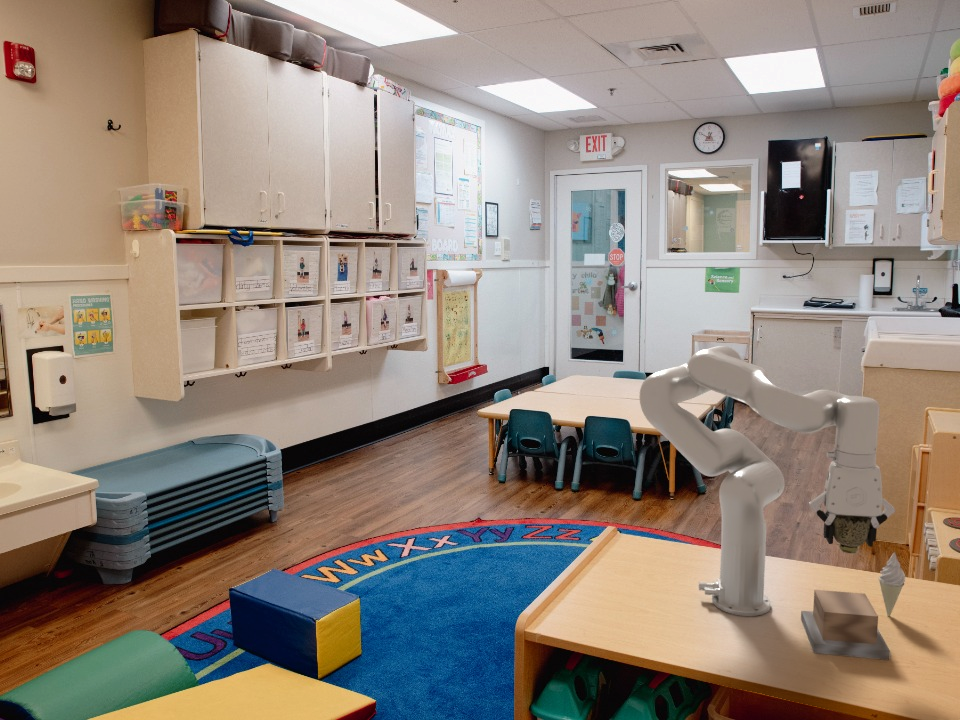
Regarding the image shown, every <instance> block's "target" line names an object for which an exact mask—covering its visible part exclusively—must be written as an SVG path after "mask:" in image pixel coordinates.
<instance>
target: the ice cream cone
mask: <svg viewBox="0 0 960 720" xmlns="http://www.w3.org/2000/svg"><path fill="white" fill-rule="evenodd" d="M879 573H880V574H881V575H880V576H879V577H878V579H877V580H878V582H879V586H880V590H881V593H882V598H883V603H884V607H885V611H886V615H887V617H891V614H892V612H893V610H894V608H895V606H896V603H897V601H898V599H899V597H900V593H901V591H902V589H903V587H904V586H905V582H906V575H905V573H904V570H903V569H902V568H901V563H900V562H899V559H898V557H897V554H896V552H895V551H893V553H892V554H891V556H890V558H889V559H888V560H887V562H886V566H884V567H882V570H880V572H879Z"/></svg>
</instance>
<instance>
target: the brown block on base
mask: <svg viewBox="0 0 960 720" xmlns="http://www.w3.org/2000/svg"><path fill="white" fill-rule="evenodd" d="M813 591H814V594H813V608H812V609H813V611H812V610H811V611H809V610H801V612H800V621H801V622H802V626H803V628H804V630H805V634H806V637H807V639H808V642H809V645H810V648H811V650H812V653H813V654H822V655H834V656H845V657H853V658H854V657H855V658H865V659H866V658H867V659H874V660H875V659H878V660H884V661H885V660H886V661H889V660H890V655H891V650H890V648H889V646H888V645H887V642H886V641H885V639H884V637H883V635H882V633H881V632H880V629H879V628H878V624H879V615H878V614H877V611H876V610H875V608H874V606H873V605H872V603H871V601H870V599H869V598H868V596H867V595H866V593H862V592H851V591H836V590H835V591H834V590H825V589H814V590H813Z"/></svg>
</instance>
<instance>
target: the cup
mask: <svg viewBox="0 0 960 720" xmlns="http://www.w3.org/2000/svg"><path fill="white" fill-rule="evenodd" d="M871 519H872V518H871ZM871 519H869V518H868V517H858V516H842V515H837V516H836V517H835V519H834V520H833V522H832V524H833V526H834V535H833V539H835V541H836V542H837V543H838V544H839V545H838V548H839V550H840V551H841V552H842V553H846V554H857V553H858V552H859V550H860V548H859V547H861V546H862V545H864V544H865V543H866V539H867V536H868V533H869V528H870V524H871Z"/></svg>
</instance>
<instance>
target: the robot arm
mask: <svg viewBox="0 0 960 720" xmlns="http://www.w3.org/2000/svg"><path fill="white" fill-rule="evenodd" d="M710 391H714V392H716V393H719V394H721V395H724V396H726V397H729V398H731V399H734V400H736V401H738V402H741V403H743V404H746V405H748V406H749V408H750V409H751V410H753V411H754V413H756V414H757V415H759V416H761V418H764V419H765V420H766V421H768V422H771V423H773V424H776V425H778V426H780V427H783V428H786V429H789V430H790V431H793V432H796V433H800V434H814V433H816V432H819V431H822V430H823V429H825V428H829V427H833V426H835V427H836V428H835V441H834V447H833V450H831V451H827V452H826V458H827V459H831V460H833V461H830V464H829V467H828V470H827V474H826V479H825V484H824V491H823V492H822V493H820V494H819V495H818V496H816V497H814V498H813V499H812V500H810V501H809V502H808V505H809V507H810V508H811V509H812V511H813V512H814V513H815V514H816V515H817V517H819V519H821V520H822V522H823V534H822V535H823V538H824V539H826V541H827V543H828V544H829V545H832V544H834V536H833V535H834V526H833V524H832V522H833V520H834V519H835V517H836V516H837V515H842V516H858V517H868V518H869V519H871V518H872V519H871V524H870V528H869V533H868V536H867V539H866V541H865V543H866V544H867V546H868V547H871V548H873V547H874V542H876V541H877V532H878V531H877V530H878V529H879V527H880V526H881V524H883V523H884V522H886V521H887V520H888V518H889V517H891V516H892V515H893V514H894V513H895V512H896V508H895V507H894V506H893V505H892V504H891V503H889V501H887V500H886V499H885V498H884V497H883V484H882V473H881V472H882V471H881V467H880V466H879V465H877V449H878V438H879V436H878V435H879V425H880V424H879V422H880V409H881V408H880V403H879V402H878V401H877V400H876V399H874V398H872V397H869V396H868V397H867V396H863V395H861V396H859V395H848V394H843V393H841V392H838V391H835V390H830V389H817V390H814V391H812V392H809V393H806V394H804V395H801V394H798V393H794V392H792V391H789V390H787V389H784V388H782V387H779V386H777V385H775V384H774V383H772V382H771V381H770V380H769V379H768V374H767V371H766V370H765V368H763V367H762V366H759V365H756V364H753V363H751V362H747V361H744V360H742V358H741V355H740V354H739V352H737V351H736V350H735V349H733V348H732V347H730V346H727V345H717V346H714V347H710V348H705V349H701V350H699V351H698V350H697V352H695V353H694V354H693V355H692V356H691V357H690V358H689V361H688V362H685V363H684V364H681V365H678V366H673V367H670V368H666V369H662V370H658V371H656V372H654V373H652V374H650V375H649V376H647V377H646V378H645V379H644V381H643V382H642V383H641V385H640V389H639V404H640V409H641V411H642V413H643V416H644V418H645V419H646V420H647V421H648V423H650V425H651V426H652V427H653V428H655V430H657V431H658V432H659V433H660V434H661V435H662V436H663V437H665V439H666V440H667V441H669V442H670V443H671V444H672V446H673V447H674V448H675V449H676V450H677V451H678V452H679V453H680V454H681V455H682V456H683V457H684V458H685V459H686V460H687V461H688V462H689V463H690V464H691V465H692V466H693V467H694V468H695V469H696V470H697V471H698V472H699V473H700V474H702V475H704V476H707V477H716V476H719V475H722V474H724V473H727V472H729V474H727V476H725V478H724V479H723V480H722V482H721V484H720V486H719V490H718V491H719V492H718V498H719V505H720V506H719V507H720V513H721V534H720V535H721V539H720V540H721V543H720V544H721V545H720V546H721V547H720V567H719V568H720V571H719V573H720V574H719V577H717V579H716V580H717V581H712V582H706V581H698V591H704V595H708V596H711V600H712V603H713V604H714V606H715V607H716V608H718V609H719V610H721V611H723V612H726V613H728V614H731V615H736V616H741V617H755V616H762V615H764V614H766V613H768V612H769V611H770V610H771V600H770V599H769V598H768V596H767V595H765V594H764V593H765V592H764V590H765V572H766V571H765V570H766V551H767V550H766V549H767V523H766V519H765V514H764V509H765V508H764V507H766V506H767V505H768V504H770V503H772V502H773V501H775V500H776V499H778V498H779V497H780V496H781V495H782V494H783V492H784V491H785V490H784V489H785V485H786V484H785V483H786V482H785V478H784V475H783V473H782V471H781V469H780V468H779V466H778V465H776V463H775V462H774V461H772V460H771V459H770V458H769V457H768V456H767V455H766V454H765V453H764V452H763V451H762V450H761V449H760V448H759V447H758V446H757V445H755V443H753V442H752V441H751V440H750V439H749V438H748V437H747V436H746V435H744V434H743V433H741V432H740V431H738V430H736V429H732V428H720V429H717V430H714V431H713V430H712V429H710V428H709V427H708V426H707V425H705V424H704V423H703V422H702V421H701V419H699V418H698V417H697V416H696V415H695V414H693V413H692V412H691V411H688V410H687V409H685V408H684V407H682V406H680V405H679V403H682V402H685V401H690V400H692V399H694V398H697V397H699V396H701V395H704V394H705V393H707V392H710ZM822 504H823V505H824V506H825V508H826V511H825V512H824V511H823V510H822V508H820V506H821V505H822ZM883 508H884V509H883ZM882 509H883V510H882Z"/></svg>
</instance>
